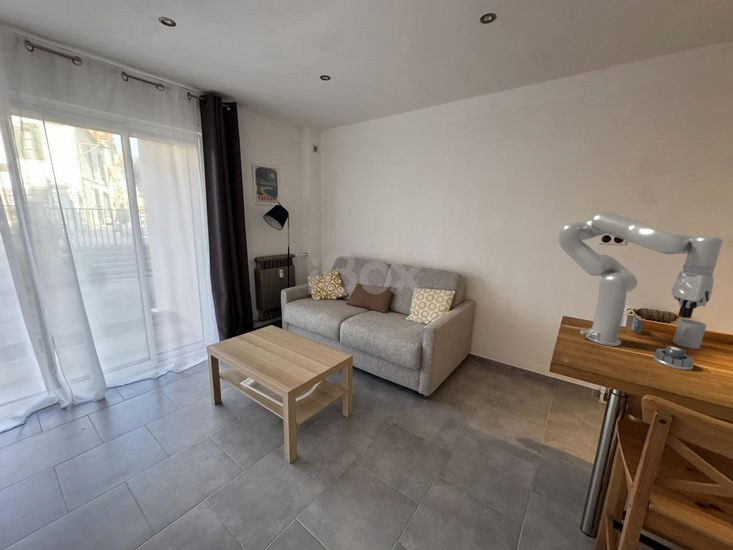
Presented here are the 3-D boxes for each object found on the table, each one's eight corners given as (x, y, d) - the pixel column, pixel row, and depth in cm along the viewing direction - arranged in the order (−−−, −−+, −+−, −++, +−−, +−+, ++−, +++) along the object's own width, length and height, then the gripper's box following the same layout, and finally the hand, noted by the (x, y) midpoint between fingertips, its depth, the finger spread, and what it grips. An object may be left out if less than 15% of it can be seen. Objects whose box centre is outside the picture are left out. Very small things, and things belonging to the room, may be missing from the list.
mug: (678, 339, 140) (684, 318, 138) (703, 347, 133) (710, 324, 130) (664, 343, 136) (671, 320, 133) (690, 351, 128) (697, 327, 126)
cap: (672, 363, 114) (675, 351, 113) (659, 356, 119) (662, 345, 118) (686, 364, 114) (689, 352, 113) (673, 357, 119) (676, 346, 118)
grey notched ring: (670, 369, 111) (673, 360, 111) (645, 355, 122) (647, 347, 121) (701, 371, 111) (703, 362, 110) (672, 357, 122) (675, 349, 121)
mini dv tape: (630, 329, 152) (633, 318, 151) (634, 329, 152) (637, 318, 150) (636, 334, 145) (638, 323, 144) (640, 335, 144) (643, 323, 143)
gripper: (668, 266, 116) (656, 310, 120) (709, 273, 102) (694, 323, 106) (688, 267, 116) (675, 311, 120) (732, 275, 101) (716, 325, 105)
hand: (684, 317), depth 113 cm, fingers closed
